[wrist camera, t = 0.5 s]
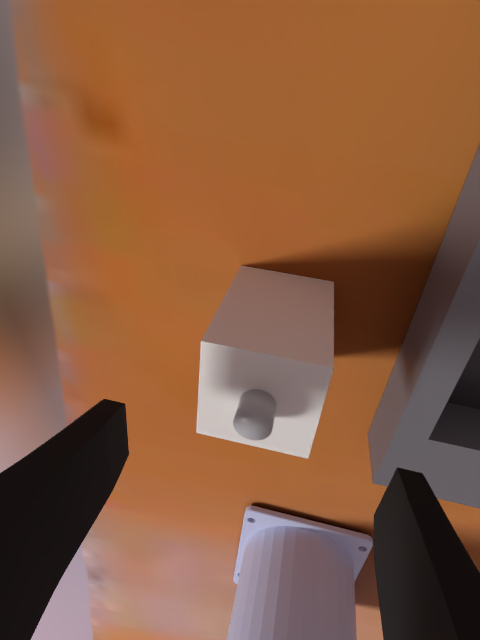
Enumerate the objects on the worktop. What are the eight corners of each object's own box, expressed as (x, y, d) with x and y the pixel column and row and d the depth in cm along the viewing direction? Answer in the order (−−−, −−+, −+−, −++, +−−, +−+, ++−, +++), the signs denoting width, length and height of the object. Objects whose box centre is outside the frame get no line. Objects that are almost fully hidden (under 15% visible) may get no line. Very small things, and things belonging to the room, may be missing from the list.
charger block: (315, 357, 18) (306, 483, 13) (233, 340, 19) (187, 454, 13) (333, 281, 16) (334, 390, 10) (241, 265, 17) (190, 360, 11)
